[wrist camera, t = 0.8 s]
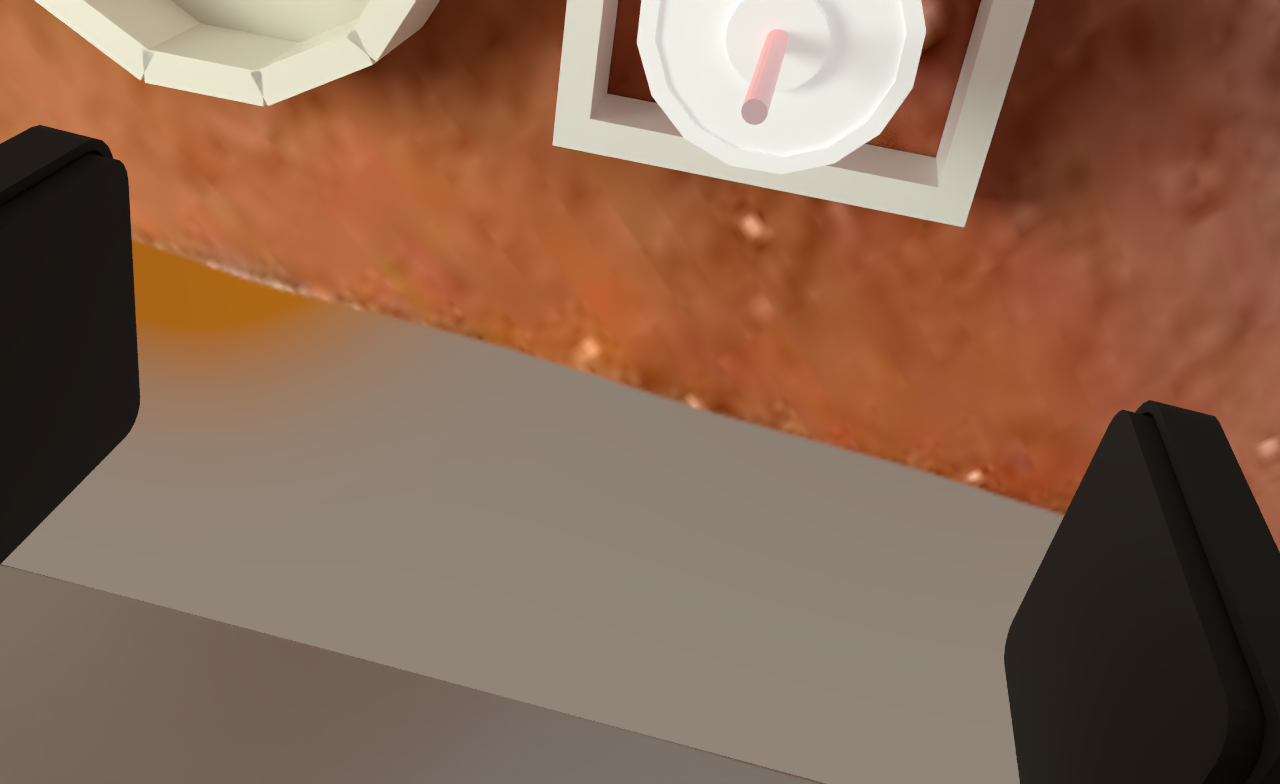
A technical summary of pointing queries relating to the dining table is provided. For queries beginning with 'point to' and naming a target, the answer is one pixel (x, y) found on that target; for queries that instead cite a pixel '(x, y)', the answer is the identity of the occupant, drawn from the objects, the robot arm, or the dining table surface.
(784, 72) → the beverage cup
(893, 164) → the open square frame
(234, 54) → the bowl
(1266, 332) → the dining table surface
